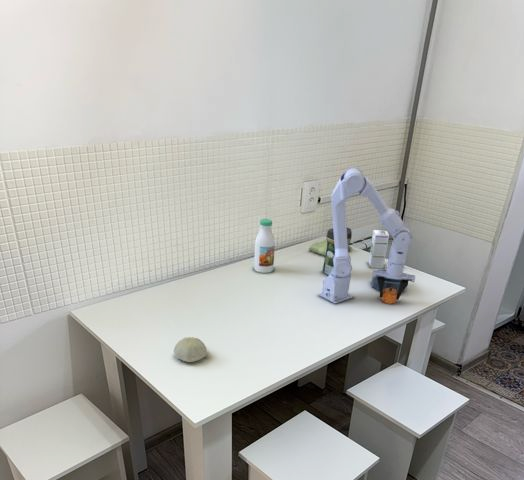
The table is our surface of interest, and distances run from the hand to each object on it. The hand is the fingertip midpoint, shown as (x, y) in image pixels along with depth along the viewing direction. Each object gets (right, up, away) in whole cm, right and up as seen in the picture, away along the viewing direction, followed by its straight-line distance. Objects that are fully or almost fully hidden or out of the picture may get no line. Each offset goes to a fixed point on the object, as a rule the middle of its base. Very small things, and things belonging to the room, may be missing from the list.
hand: (389, 297), depth 176 cm
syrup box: (+2, +16, +30) cm, 34 cm away
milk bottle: (-45, +13, +20) cm, 51 cm away
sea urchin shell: (-66, -21, -37) cm, 79 cm away
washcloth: (-16, +25, +42) cm, 52 cm away
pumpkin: (0, -1, +1) cm, 1 cm away
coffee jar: (-17, +12, +21) cm, 29 cm away
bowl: (+3, +5, +11) cm, 13 cm away
